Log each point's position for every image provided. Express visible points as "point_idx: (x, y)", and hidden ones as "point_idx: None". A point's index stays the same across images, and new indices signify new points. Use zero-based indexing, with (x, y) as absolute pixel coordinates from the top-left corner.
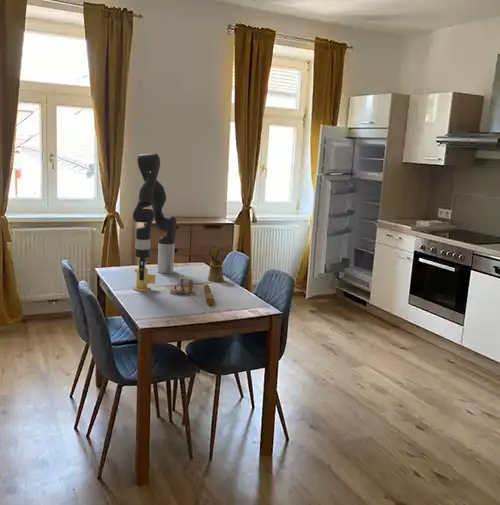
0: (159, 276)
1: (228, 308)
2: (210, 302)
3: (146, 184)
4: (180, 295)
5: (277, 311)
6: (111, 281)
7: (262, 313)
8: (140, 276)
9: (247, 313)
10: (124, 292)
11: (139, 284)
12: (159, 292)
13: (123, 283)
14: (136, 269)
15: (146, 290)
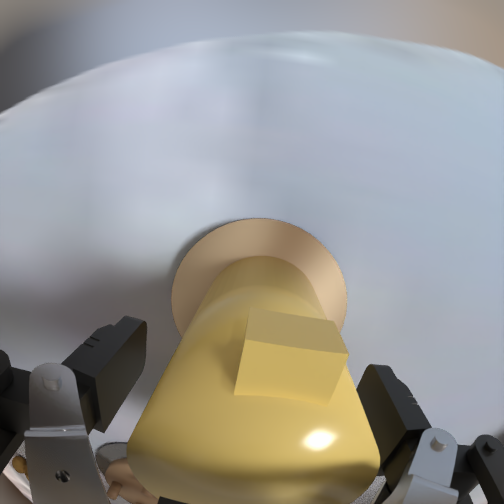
0: (499, 416)
1: (22, 473)
2: (12, 462)
3: None
4: (96, 456)
5: None
6: (501, 94)
7: (23, 491)
8: (79, 348)
9: (10, 475)
10: (148, 123)
11: (204, 297)
12: (144, 402)
13: (460, 166)
14: (234, 387)
15: (183, 333)
